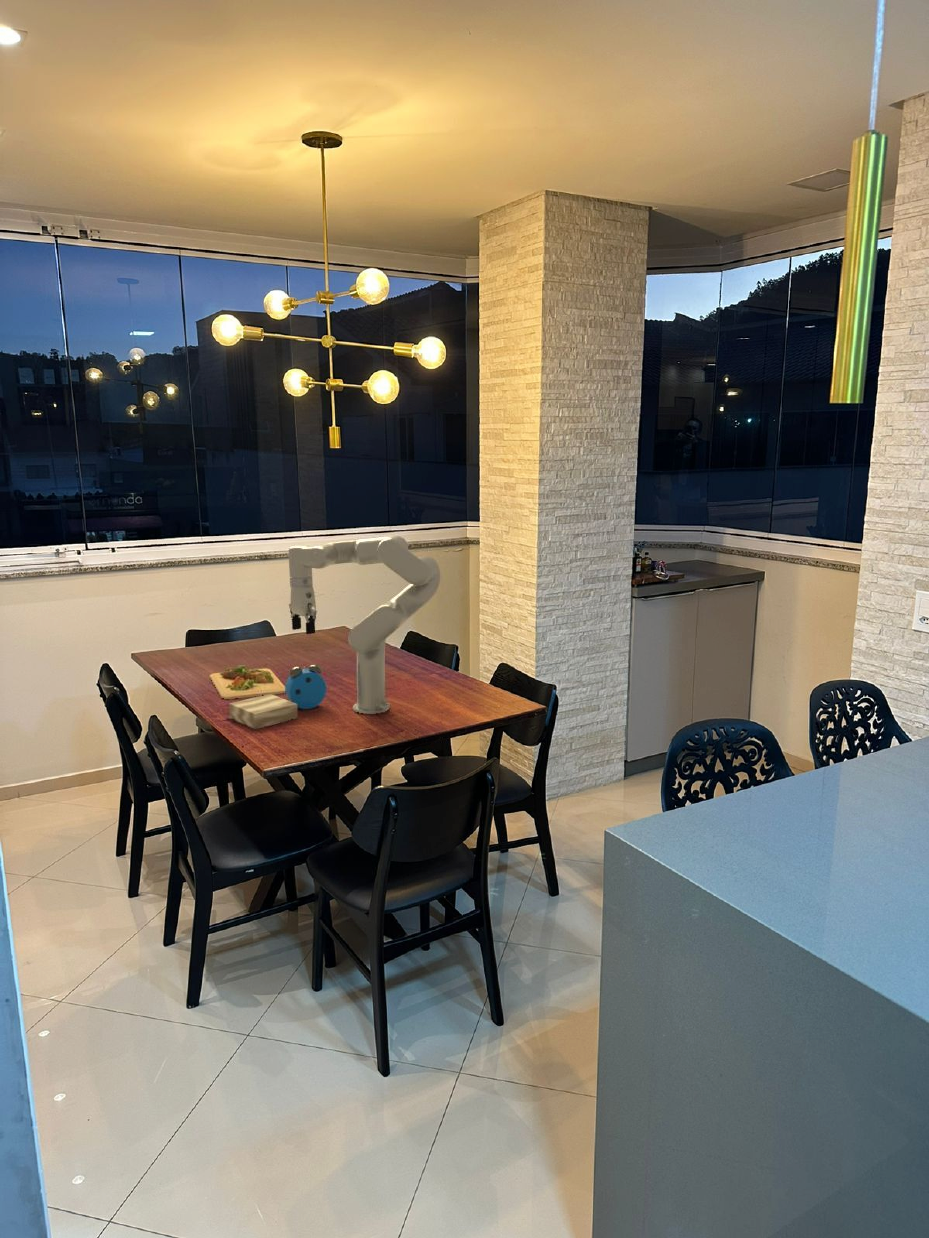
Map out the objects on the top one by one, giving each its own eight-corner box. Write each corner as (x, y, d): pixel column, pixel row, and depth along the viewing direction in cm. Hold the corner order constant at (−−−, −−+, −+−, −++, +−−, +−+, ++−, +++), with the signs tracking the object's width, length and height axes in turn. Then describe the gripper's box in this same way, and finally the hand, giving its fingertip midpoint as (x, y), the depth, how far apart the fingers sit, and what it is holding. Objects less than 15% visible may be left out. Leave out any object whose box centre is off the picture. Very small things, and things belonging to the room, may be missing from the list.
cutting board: (288, 694, 313) (287, 674, 311) (222, 702, 304) (221, 681, 302) (269, 672, 344) (268, 654, 343) (209, 678, 335) (208, 659, 333)
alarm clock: (321, 702, 301) (320, 661, 298) (327, 707, 296) (326, 665, 293) (285, 707, 295) (283, 665, 292) (290, 712, 290) (289, 669, 287)
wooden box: (297, 718, 283) (297, 703, 282) (255, 729, 272) (254, 714, 271) (271, 707, 295) (270, 693, 294) (229, 717, 284) (228, 703, 283)
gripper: (323, 583, 285) (326, 633, 288) (298, 578, 298) (301, 626, 302) (303, 586, 280) (306, 637, 284) (279, 580, 294) (281, 629, 297)
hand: (303, 631), depth 293 cm, fingers open, 9 cm apart
